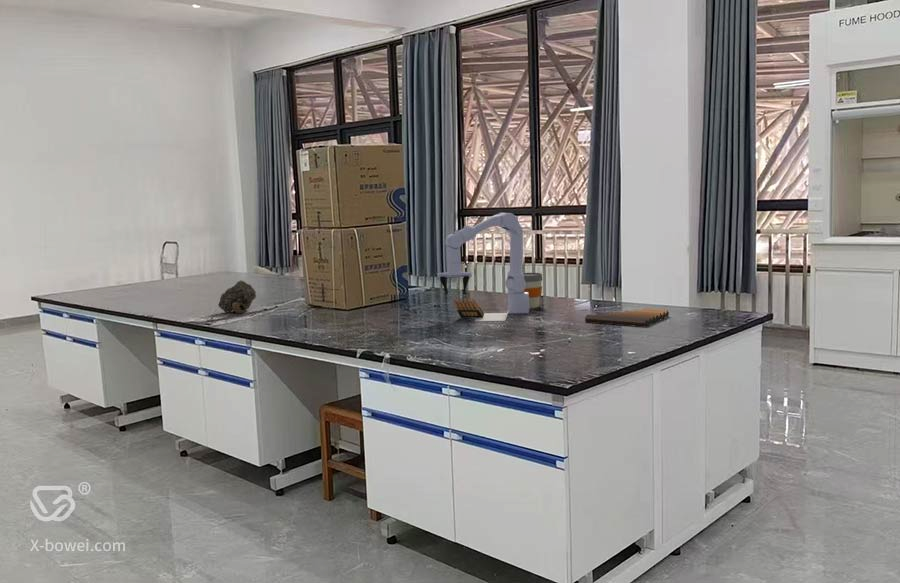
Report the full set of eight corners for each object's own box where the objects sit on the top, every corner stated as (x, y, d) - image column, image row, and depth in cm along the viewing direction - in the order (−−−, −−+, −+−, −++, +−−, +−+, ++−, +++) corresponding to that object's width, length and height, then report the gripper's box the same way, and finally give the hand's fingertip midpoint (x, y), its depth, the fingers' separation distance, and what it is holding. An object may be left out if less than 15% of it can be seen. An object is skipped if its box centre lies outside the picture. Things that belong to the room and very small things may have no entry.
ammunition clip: (460, 317, 318) (450, 300, 310) (461, 314, 320) (451, 296, 311) (483, 317, 313) (473, 299, 305) (484, 314, 314) (474, 296, 306)
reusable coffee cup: (545, 308, 333) (544, 275, 331) (517, 309, 333) (516, 276, 331) (541, 303, 346) (540, 272, 344) (514, 305, 346) (513, 273, 344)
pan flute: (585, 323, 296) (644, 328, 281) (584, 315, 296) (644, 319, 280) (611, 313, 316) (668, 317, 301) (611, 305, 315) (668, 309, 300)
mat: (508, 313, 323) (508, 312, 323) (504, 321, 306) (504, 320, 306) (479, 314, 325) (479, 313, 325) (474, 321, 308) (474, 320, 308)
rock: (235, 275, 368) (244, 272, 355) (257, 294, 373) (267, 292, 360) (211, 303, 360) (220, 301, 347) (234, 322, 365) (243, 320, 353)
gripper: (472, 261, 317) (473, 292, 319) (438, 261, 320) (440, 293, 322) (470, 262, 311) (471, 294, 312) (436, 263, 313) (437, 295, 315)
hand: (455, 294), depth 317 cm, fingers open, 7 cm apart
